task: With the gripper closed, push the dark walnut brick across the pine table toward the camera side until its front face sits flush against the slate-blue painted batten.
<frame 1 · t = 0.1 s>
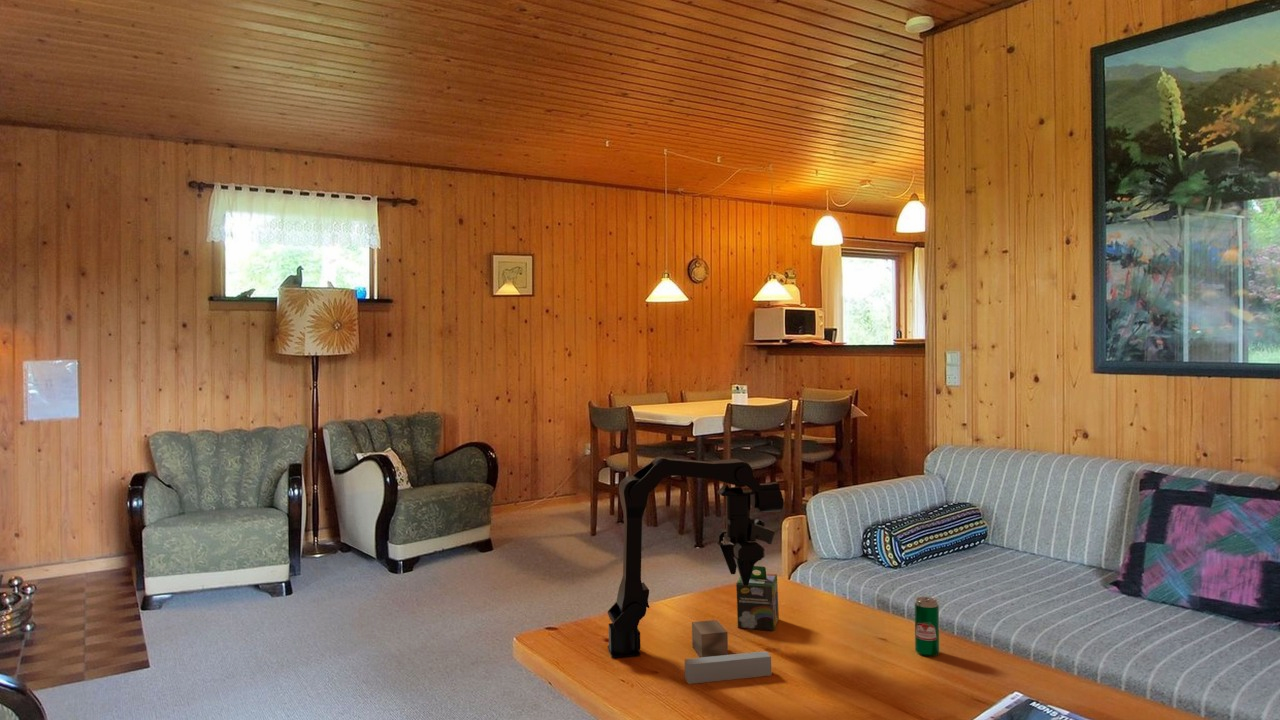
hand: (739, 579, 184), 14 cm above the table, fingers open, 9 cm apart
soda can: (927, 653, 174), on the table
batten: (728, 676, 164), on the table
walnut brick: (709, 653, 177), on the table
chalk box: (758, 624, 195), on the table
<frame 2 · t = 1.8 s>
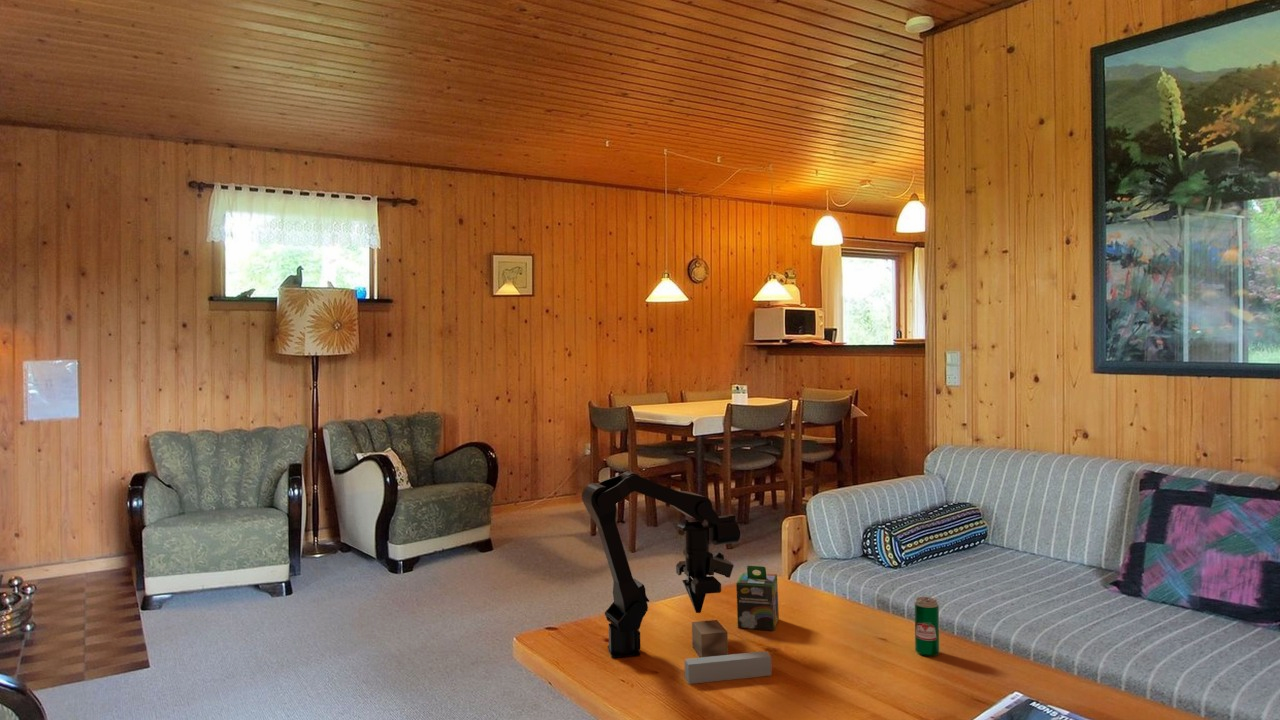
hand: (698, 612, 186), 6 cm above the table, fingers closed
nothing on the table moved.
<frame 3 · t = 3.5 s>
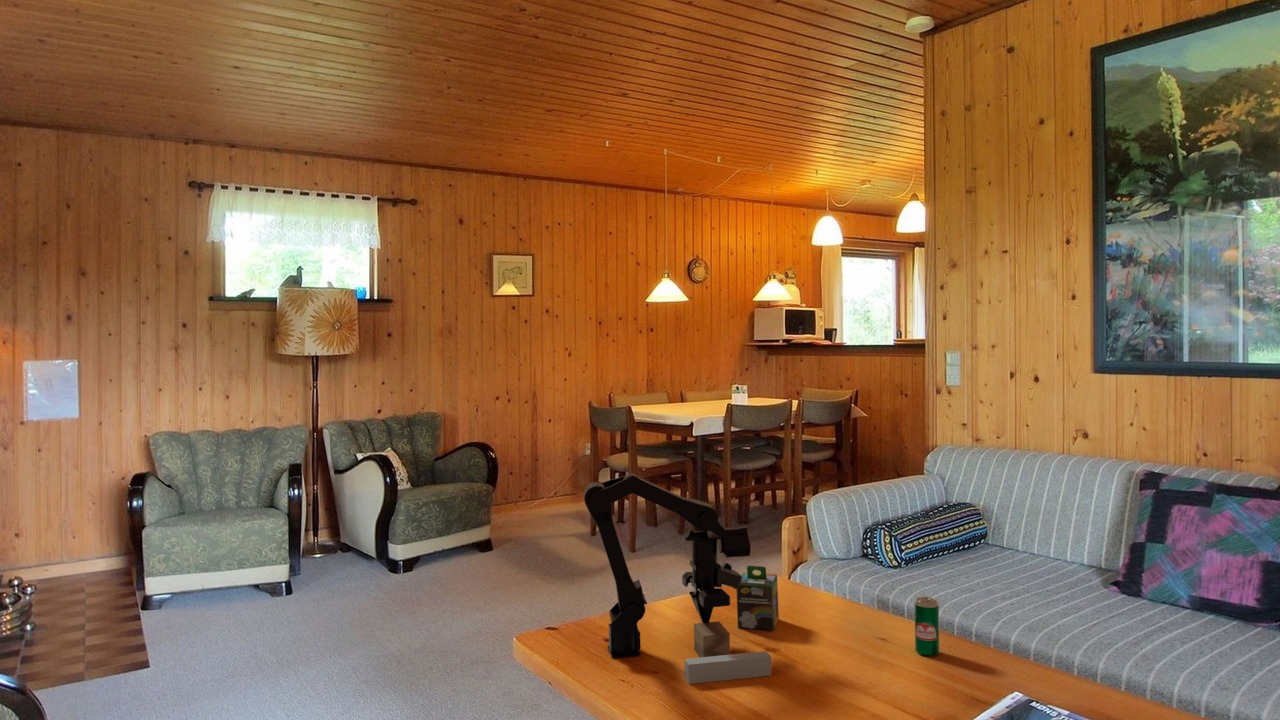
hand: (705, 625, 180), 5 cm above the table, fingers closed
walnut brick: (711, 655, 175), on the table, touching gripper
everything else where it was.
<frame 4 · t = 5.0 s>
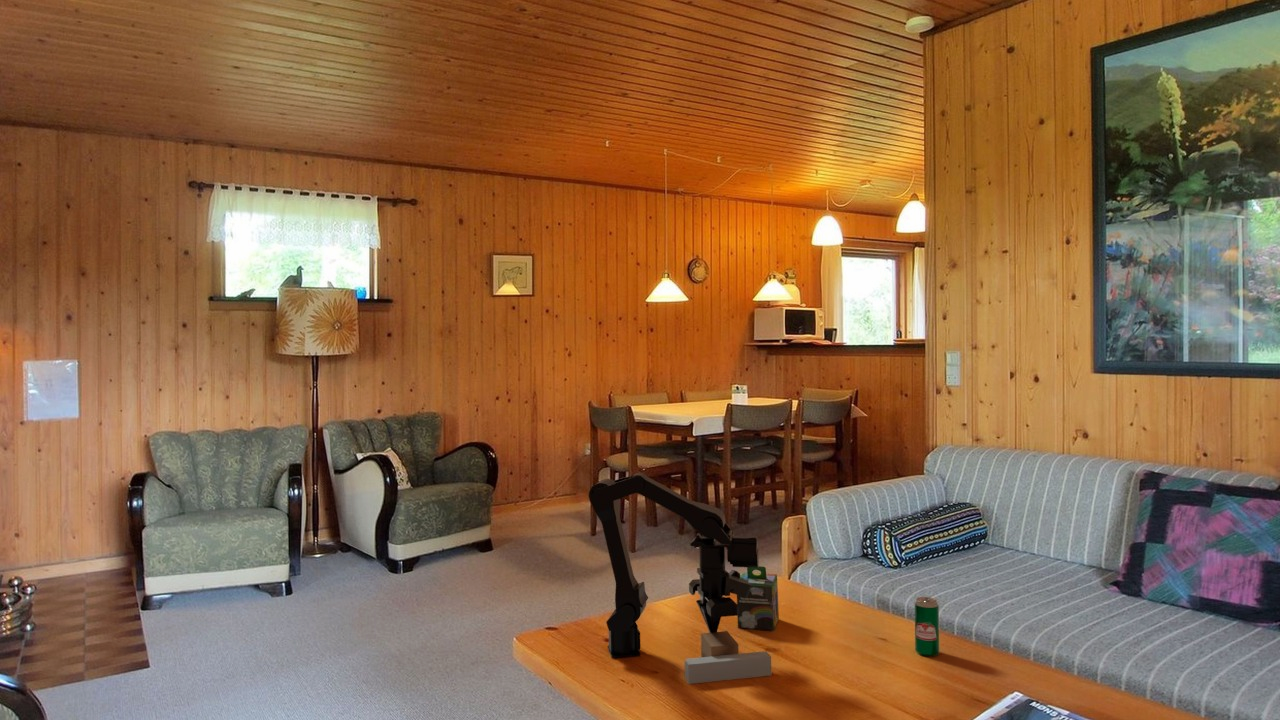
hand: (713, 635, 174), 5 cm above the table, fingers closed
walnut brick: (719, 666, 169), on the table, touching gripper
everything else where it was.
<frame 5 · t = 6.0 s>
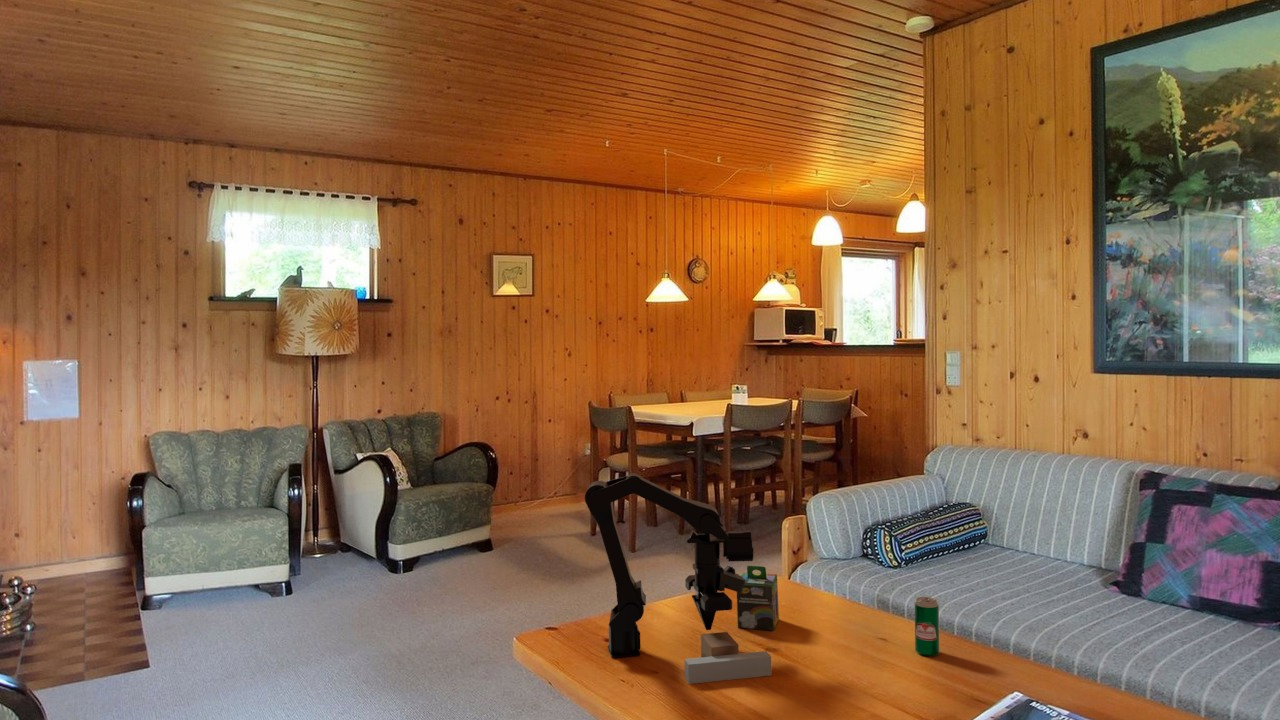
hand: (708, 629, 178), 5 cm above the table, fingers closed
walnut brick: (719, 666, 169), on the table
everything else where it was.
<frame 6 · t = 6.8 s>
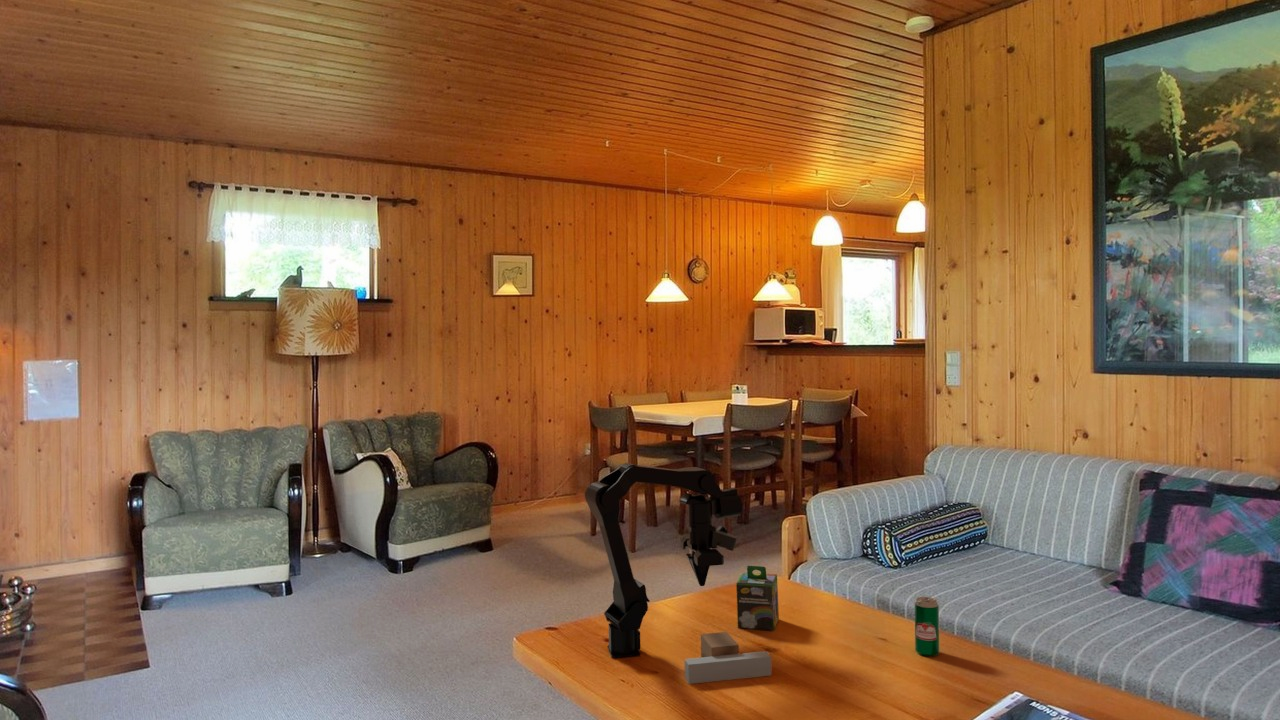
hand: (702, 585, 187), 12 cm above the table, fingers closed
nothing on the table moved.
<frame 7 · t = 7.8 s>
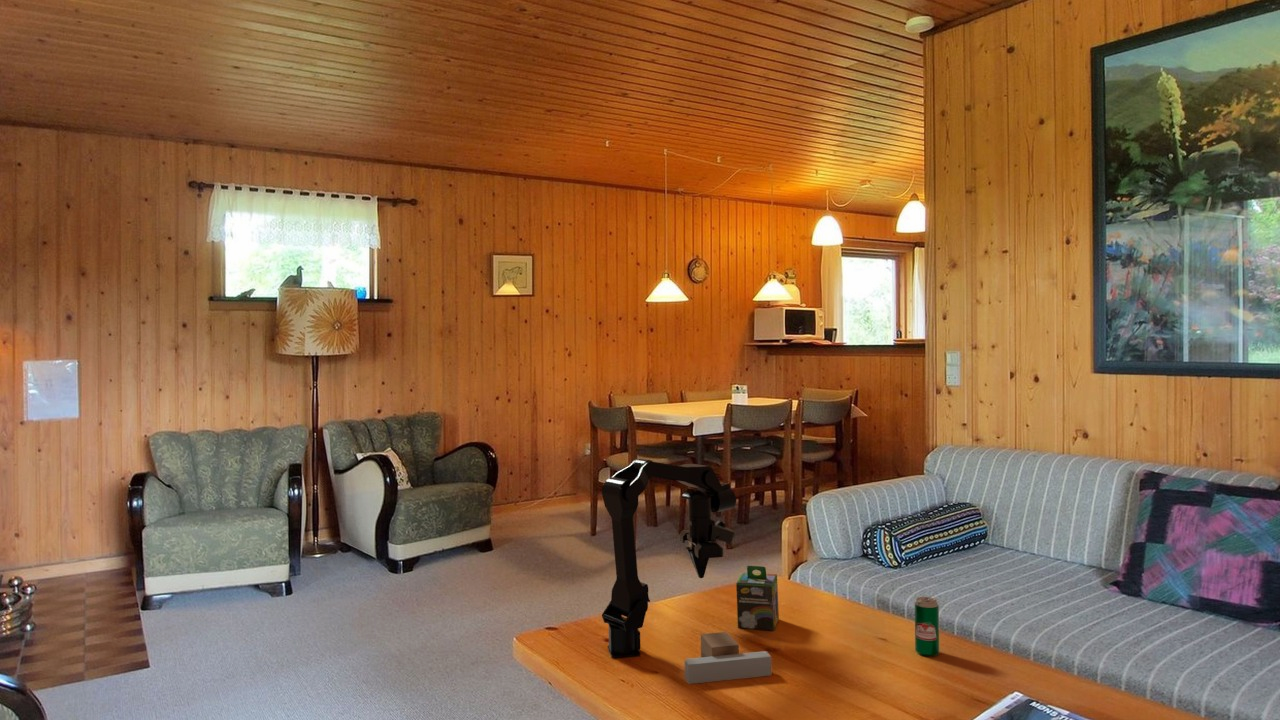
hand: (701, 577, 194), 12 cm above the table, fingers closed
nothing on the table moved.
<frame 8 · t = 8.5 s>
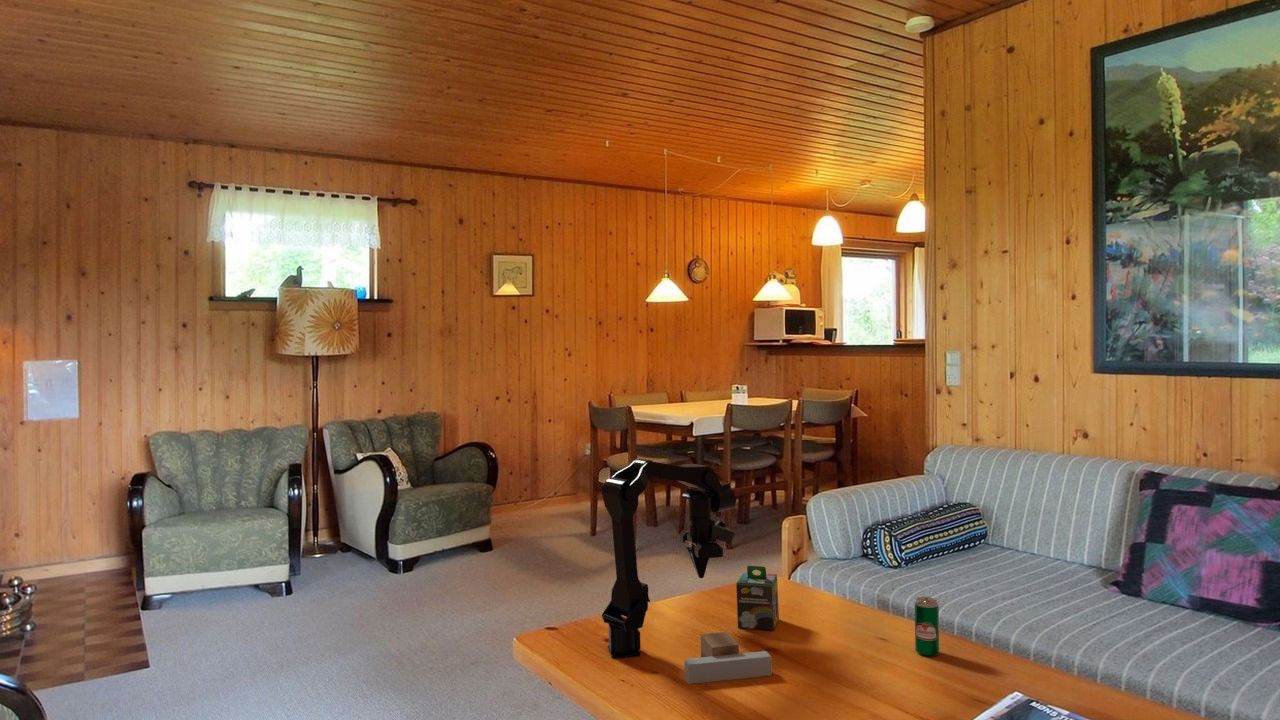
hand: (701, 577, 194), 12 cm above the table, fingers closed
nothing on the table moved.
at the end: walnut brick 0.1 cm from the target spot on the table beside the batten, on the table; walnut brick tilted 0° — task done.
